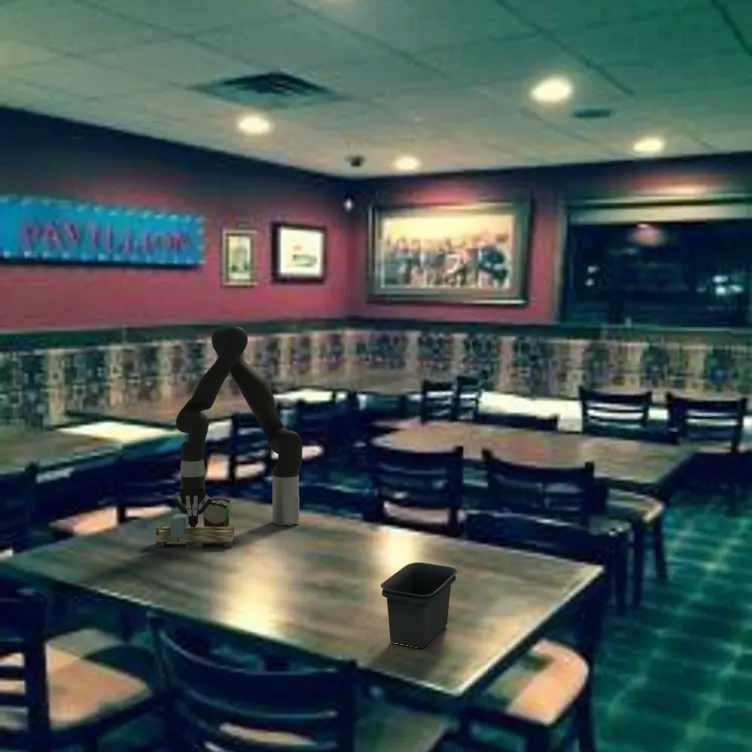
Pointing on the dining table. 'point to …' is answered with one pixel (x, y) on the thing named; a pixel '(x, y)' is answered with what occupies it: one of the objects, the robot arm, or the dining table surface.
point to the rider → (179, 525)
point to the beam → (196, 536)
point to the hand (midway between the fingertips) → (193, 526)
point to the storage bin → (418, 602)
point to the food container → (217, 513)
